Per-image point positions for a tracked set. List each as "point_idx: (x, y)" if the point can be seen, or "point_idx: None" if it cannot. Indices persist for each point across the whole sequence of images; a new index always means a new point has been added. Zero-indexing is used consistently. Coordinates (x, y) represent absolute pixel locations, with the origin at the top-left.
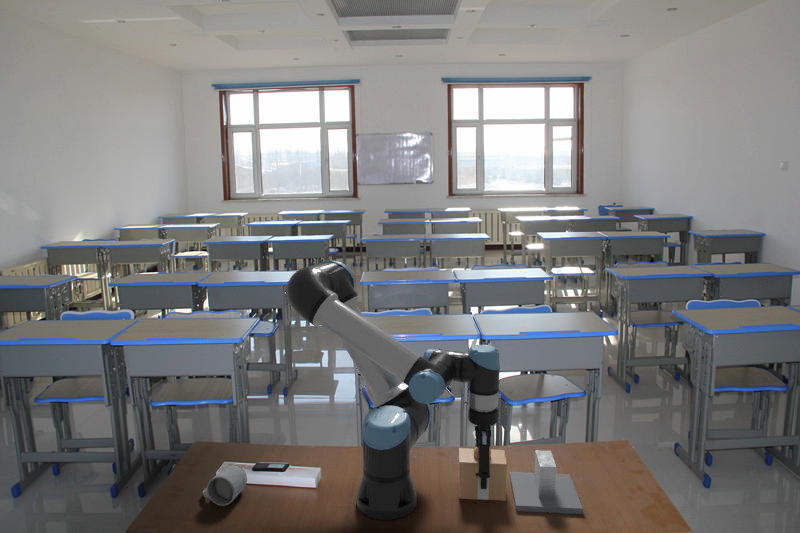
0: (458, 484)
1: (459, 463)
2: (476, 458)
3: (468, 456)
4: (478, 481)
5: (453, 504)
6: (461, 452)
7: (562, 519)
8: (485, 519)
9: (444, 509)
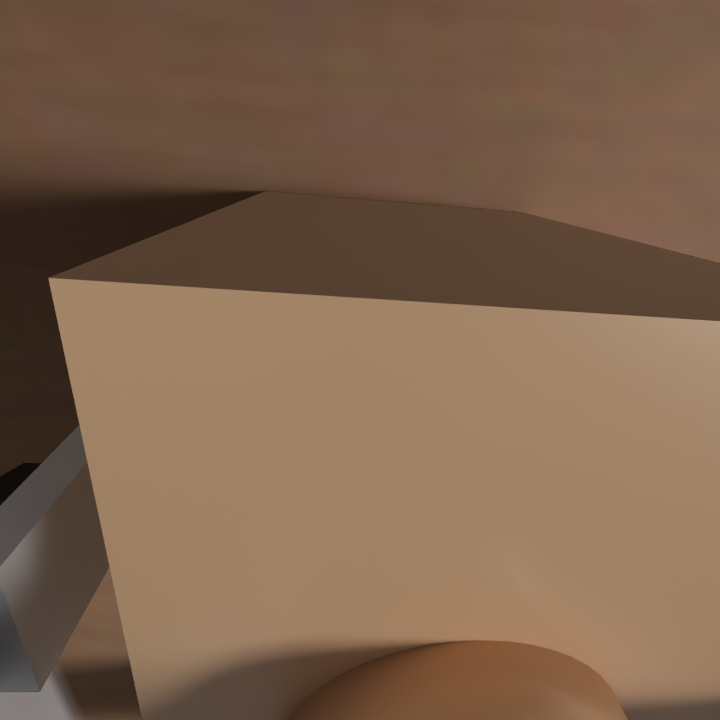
0: (483, 210)
1: (84, 269)
2: (331, 684)
3: (443, 549)
4: (19, 490)
5: (161, 126)
6: (716, 395)
7: (129, 711)
8: (3, 378)
9: (47, 8)
